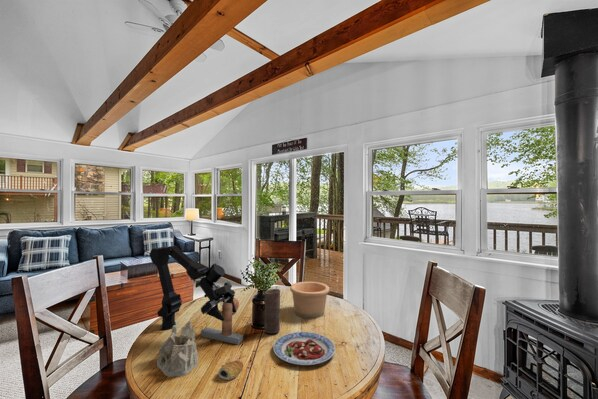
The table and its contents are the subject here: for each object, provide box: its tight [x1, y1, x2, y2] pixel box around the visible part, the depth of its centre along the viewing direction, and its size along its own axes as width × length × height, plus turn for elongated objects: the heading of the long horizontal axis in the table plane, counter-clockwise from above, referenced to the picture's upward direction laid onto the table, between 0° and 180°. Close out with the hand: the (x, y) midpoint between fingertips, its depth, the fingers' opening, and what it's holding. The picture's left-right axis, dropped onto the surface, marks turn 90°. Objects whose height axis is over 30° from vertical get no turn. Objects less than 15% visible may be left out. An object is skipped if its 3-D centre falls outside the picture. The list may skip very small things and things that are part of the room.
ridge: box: [200, 327, 244, 345], centre depth 125 cm, size 20×4×2 cm, turn 69°
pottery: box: [289, 281, 330, 320], centre depth 156 cm, size 22×22×14 cm
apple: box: [222, 297, 240, 315], centre depth 154 cm, size 9×9×8 cm
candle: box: [263, 288, 281, 334], centre depth 132 cm, size 8×7×20 cm
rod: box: [221, 303, 233, 336], centre depth 124 cm, size 4×4×13 cm
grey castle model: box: [156, 320, 199, 378], centre depth 105 cm, size 16×16×15 cm
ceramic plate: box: [272, 331, 336, 366], centre depth 116 cm, size 26×26×3 cm
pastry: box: [217, 360, 244, 381], centre depth 101 cm, size 9×7×4 cm
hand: (229, 316), depth 124 cm, fingers open, 9 cm apart
